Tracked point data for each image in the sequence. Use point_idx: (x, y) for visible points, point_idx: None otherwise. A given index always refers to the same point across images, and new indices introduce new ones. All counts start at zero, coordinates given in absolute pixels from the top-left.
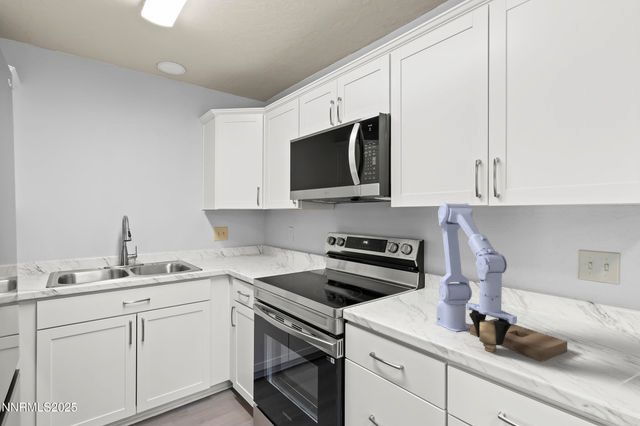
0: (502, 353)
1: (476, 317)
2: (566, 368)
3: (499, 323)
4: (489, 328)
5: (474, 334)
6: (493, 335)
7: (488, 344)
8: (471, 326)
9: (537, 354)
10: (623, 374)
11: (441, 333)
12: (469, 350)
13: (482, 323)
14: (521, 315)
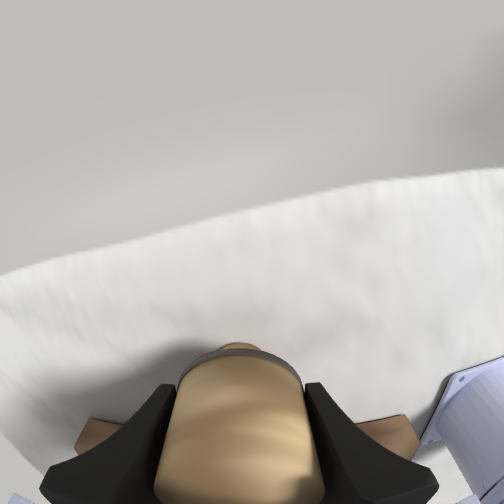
0: None
1: (353, 497)
2: (52, 423)
3: (47, 484)
4: (184, 449)
5: (386, 422)
6: (174, 418)
7: (205, 355)
8: (412, 441)
9: (91, 435)
10: (33, 460)
11: (489, 304)
12: (304, 267)
13: (271, 473)
14: None
